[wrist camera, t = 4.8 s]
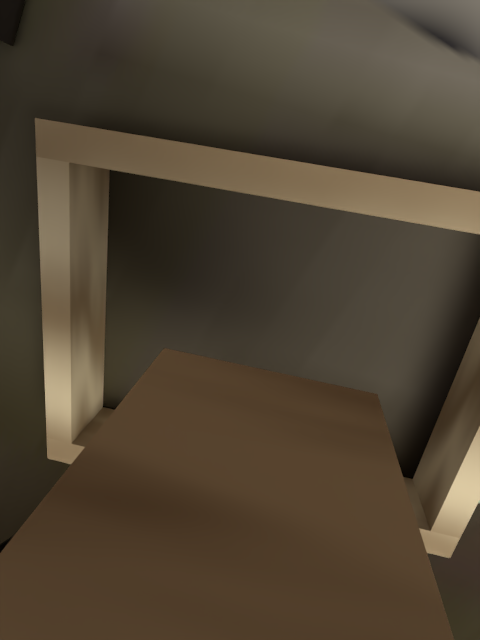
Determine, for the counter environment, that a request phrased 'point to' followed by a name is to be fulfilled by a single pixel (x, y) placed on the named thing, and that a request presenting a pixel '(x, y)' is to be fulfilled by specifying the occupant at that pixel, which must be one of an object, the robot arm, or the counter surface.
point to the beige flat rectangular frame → (246, 177)
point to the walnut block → (226, 520)
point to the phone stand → (10, 19)
